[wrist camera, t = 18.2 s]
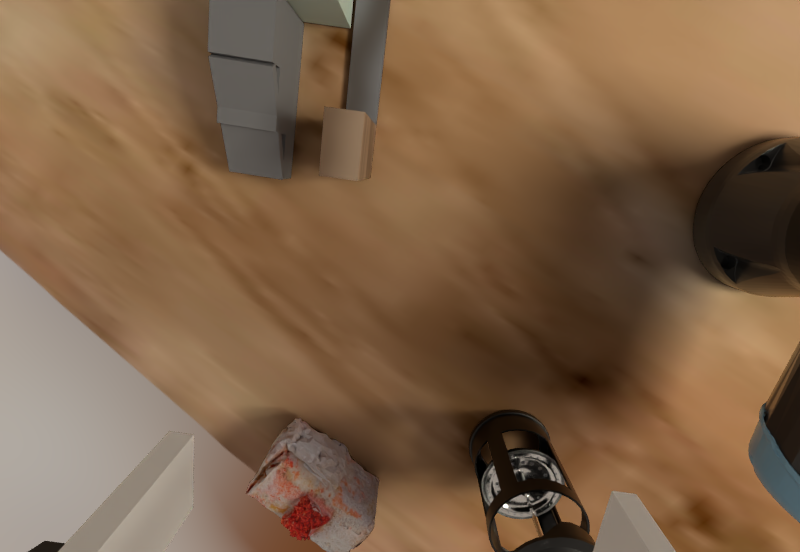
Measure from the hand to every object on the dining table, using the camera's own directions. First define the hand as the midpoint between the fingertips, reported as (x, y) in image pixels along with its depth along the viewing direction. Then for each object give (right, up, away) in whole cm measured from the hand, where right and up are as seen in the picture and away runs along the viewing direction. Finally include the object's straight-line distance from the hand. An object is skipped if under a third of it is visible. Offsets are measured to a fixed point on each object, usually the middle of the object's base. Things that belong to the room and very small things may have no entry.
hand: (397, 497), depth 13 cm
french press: (+13, -13, +36) cm, 41 cm away
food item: (-9, -15, +37) cm, 41 cm away
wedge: (-12, +24, +27) cm, 38 cm away
